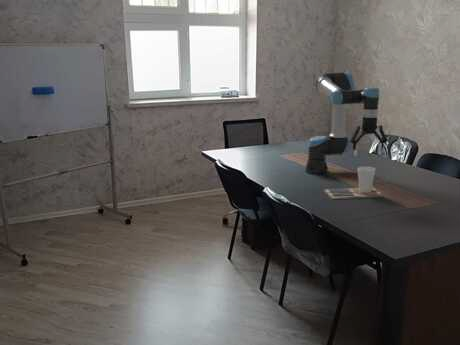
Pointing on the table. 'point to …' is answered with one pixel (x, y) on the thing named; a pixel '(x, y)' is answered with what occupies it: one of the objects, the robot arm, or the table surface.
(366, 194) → the sorting board
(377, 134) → the robot arm
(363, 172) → the foam cup
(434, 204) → the table surface
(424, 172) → the table surface
